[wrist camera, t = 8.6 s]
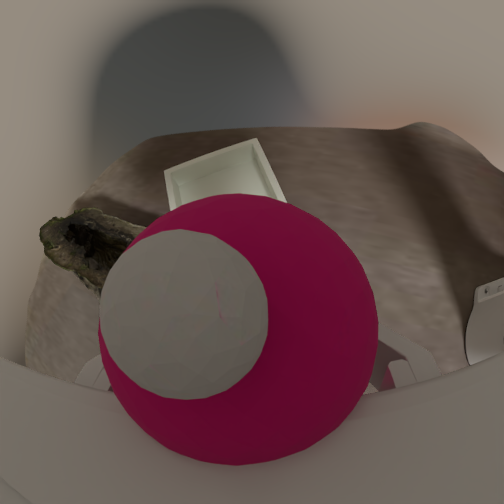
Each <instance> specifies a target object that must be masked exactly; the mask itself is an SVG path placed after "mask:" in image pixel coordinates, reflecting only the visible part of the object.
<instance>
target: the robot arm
mask: <svg viewBox="0 0 504 504" xmlns="http://www.w3.org/2000/svg"><path fill="white" fill-rule="evenodd" d="M466 353H467V358H468V361H469V364H470V366H467V367H464V368H462V369H459V370H456V371H453V372H450V373H447V374H444V375H442V374H441V372H440V370H439V368H438V366H437V364H436V362H435V360H434V358H433V356H432V354H431V353H430V351H428V350H426V349H424V348H423V347H421V346H419V345H418V344H416V343H414V342H412V341H411V340H409V339H407V338H406V337H404V336H402V335H400V334H399V333H397V332H395V331H393V330H392V329H390V328H388V327H387V326H385V325H383V324H381V323H380V324H378V348H377V353H376V358H375V362H374V367H373V371H372V375H371V378H370V380H369V382H370V383H371V384H372V385H373V386H374V387H375V388H376V389H377V390H378V391H379V392H375V393H370V394H365V395H362V396H361V398H360V400H359V401H358V403H357V404H356V406H355V408H354V409H353V410H352V412H351V413H350V414H349V415H348V416H347V418H346V419H345V420H344V421H343V422H342V423H341V425H340V426H339V427H338V428H336V429H335V430H334V431H333V432H331V433H330V434H328V435H327V436H326V437H324V438H323V439H321V440H320V441H318V442H317V443H315V444H314V445H312V446H311V447H309V448H307V449H305V450H303V451H300V452H297V453H295V454H292V455H289V456H286V457H283V458H280V459H277V460H274V461H269V462H264V463H257V464H249V465H240V466H232V465H222V464H214V463H207V462H202V461H198V460H195V459H192V458H190V457H187V456H184V455H181V454H179V453H176V452H174V451H172V450H169V449H168V448H166V447H164V446H163V445H161V444H160V443H159V442H157V441H156V440H155V439H153V438H152V437H151V436H150V435H148V434H147V433H146V432H145V431H144V430H143V429H142V428H141V427H140V426H139V425H138V424H137V423H136V422H135V421H134V420H133V419H132V418H131V417H130V416H129V415H128V414H127V412H126V411H125V409H124V408H123V406H122V405H121V403H120V402H119V400H118V399H117V397H116V396H115V394H114V391H113V389H112V387H111V384H110V382H109V379H108V376H107V374H106V371H105V368H104V366H103V363H102V358H101V354H99V355H98V356H96V357H94V358H93V359H91V360H90V361H88V362H86V364H85V365H84V367H83V368H82V370H81V372H80V373H79V375H78V377H77V378H76V380H75V381H74V383H73V382H69V381H66V380H62V379H59V378H56V377H53V376H50V375H46V374H43V373H41V372H38V371H35V370H32V369H29V368H27V367H24V366H21V365H19V364H16V363H14V362H12V361H9V360H7V359H5V358H3V357H0V504H504V277H503V278H500V279H498V280H495V281H492V282H489V283H487V284H484V285H481V286H478V287H477V288H476V290H475V295H474V307H473V310H472V312H471V315H470V318H469V321H468V325H467V330H466Z"/></svg>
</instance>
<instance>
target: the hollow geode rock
mask: <svg viewBox="0 0 504 504" xmlns="http://www.w3.org/2000/svg"><path fill="white" fill-rule="evenodd" d="M146 228H147V227H144V226H140V225H134V224H131V223H129V222H127V221H125V220H121V219H119V218H118V217H114V216H109V215H107V214H103V211H102V210H101V209H98V208H83V209H81V210H74V214H72V215H70V216H68V217H66V218H62V217H61V218H59V219H58V218H57V217H53V218H52V219H51V220H49V221H48V222H47V223H46V224H44V225H43V226H42V227H41V228H40V235H39V236H40V241H41V242H42V243H43V245H44V253H45V255H46V256H47V257H48V258H49V259H51V260H52V262H53V263H54V264H56V265H57V266H59V267H61V268H63V269H65V270H67V271H72V273H73V274H75V275H76V276H77V277H78V278H79V279H80V281H81V282H82V283H83V284H84V285H86V287H87V288H88V289H89V290H91V291H92V292H93V293H94V294H95V295H96V297H97V298H98V302H99V304H100V300H101V292H102V289H103V286H104V284H105V281H106V278H107V276H108V273H109V271H110V270H111V268H112V267H113V266H114V264H115V263H116V261H117V260H118V259H119V257H120V256H121V255H122V254H123V252H124V251H125V250H126V249H127V247H128V246H129V245H130V244H131V243H132V242H133V240H134V239H135V238H136V237H137V236H138V235H139V234H140V233H141V232H142V231H143V230H144V229H146Z"/></svg>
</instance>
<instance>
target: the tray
mask: <svg viewBox="0 0 504 504" xmlns="http://www.w3.org/2000/svg"><path fill="white" fill-rule="evenodd" d="M164 175H165V181H166V187H167V193H168V199H169V205H170V210H171V211H172V210H174V209H176V208H178V207H179V206H181V205H184V204H187V203H189V202H192V201H196V200H199V199H203V198H206V197H210V196H214V195H220V194H235V193H242V194H251V195H260V196H267V197H270V198H273V199H276V200H279V201H283V202H286V199H285V197H284V195H283V193H282V190H281V188H280V186H279V184H278V182H277V179H276V177H275V175H274V173H273V171H272V169H271V167H270V164H269V162H268V160H267V158H266V156H265V154H264V152H263V150H262V148H261V146H260V143H259V141H258V139H257V138H254V139H251V140H248V141H244V142H241V143H238V144H235V145H232V146H229V147H226V148H223V149H220V150H217V151H214V152H211V153H209V154H206V155H203V156H200V157H198V158H195V159H192V160H190V161H187V162H184V163H182V164H179V165H177V166H174V167H172V168H169V169H167V170H164ZM286 203H287V202H286Z"/></svg>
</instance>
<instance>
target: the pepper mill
mask: <svg viewBox="0 0 504 504" xmlns="http://www.w3.org/2000/svg"><path fill="white" fill-rule="evenodd" d="M98 336H99V344H100V351H101V358H102V363H103V366H104V368H105V371H106V374H107V376H108V379H109V382H110V384H111V387H112V389H113V391H114V394H115V396H116V397H117V399H118V400H119V402H120V403H121V405H122V406H123V408H124V409H125V411H126V412H127V414H128V415H129V416H130V417H131V418H132V419H133V420H134V421H135V422H136V423H137V424H138V425H139V426H140V427H141V428H142V429H143V430H144V431H145V432H146V433H147V434H148V435H150V436H151V437H152V438H153V439H155V440H156V441H157V442H159V443H160V444H161V445H163V446H164V447H166V448H168V449H169V450H172V451H174V452H176V453H179V454H181V455H184V456H187V457H190V458H192V459H195V460H198V461H202V462H207V463H214V464H222V465H232V466H240V465H249V464H257V463H264V462H269V461H274V460H277V459H280V458H283V457H286V456H289V455H292V454H295V453H297V452H300V451H303V450H305V449H307V448H309V447H311V446H312V445H314V444H315V443H317V442H318V441H320V440H321V439H323V438H324V437H326V436H327V435H328V434H330V433H331V432H333V431H334V430H335V429H336V428H338V427H339V426H340V425H341V423H342V422H343V421H344V420H345V419H346V418H347V416H348V415H349V414H350V413H351V412H352V410H353V409H354V408H355V406H356V404H357V403H358V401H359V400H360V398H361V396H362V395H363V393H364V391H365V390H366V388H367V386H368V383H369V380H370V378H371V375H372V371H373V367H374V362H375V358H376V353H377V348H378V317H377V311H376V305H375V300H374V295H373V291H372V289H371V286H370V284H369V281H368V279H367V277H366V274H365V272H364V269H363V267H362V265H361V264H360V262H359V261H358V259H357V257H356V256H355V254H354V253H353V252H352V251H351V249H350V248H349V247H348V246H347V245H346V244H345V242H344V241H343V240H342V239H341V238H340V237H339V236H338V234H337V233H336V232H334V231H333V230H332V229H331V228H329V227H328V226H327V225H326V224H324V223H323V222H322V221H321V220H319V219H318V218H316V217H314V216H313V215H311V214H309V213H307V212H305V211H303V210H301V209H299V208H297V207H295V206H293V205H291V204H289V203H286V202H283V201H279V200H276V199H273V198H270V197H267V196H260V195H251V194H242V193H235V194H220V195H214V196H210V197H206V198H203V199H199V200H196V201H192V202H189V203H187V204H184V205H181V206H179V207H178V208H176V209H174V210H172V211H170V212H168V213H166V214H165V215H163V216H161V217H159V218H157V219H156V220H155V221H154V222H153V223H151V224H150V225H149V226H148V227H147V228H146V229H144V230H143V231H142V232H141V233H140V234H139V235H138V236H137V237H136V238H135V239H134V240H133V242H132V243H131V244H130V245H129V246H128V247H127V249H126V250H125V251H124V252H123V254H122V255H121V256H120V257H119V259H118V260H117V261H116V263H115V264H114V266H113V267H112V268H111V270H110V271H109V273H108V276H107V278H106V281H105V284H104V286H103V289H102V292H101V300H100V319H99V330H98Z"/></svg>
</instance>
